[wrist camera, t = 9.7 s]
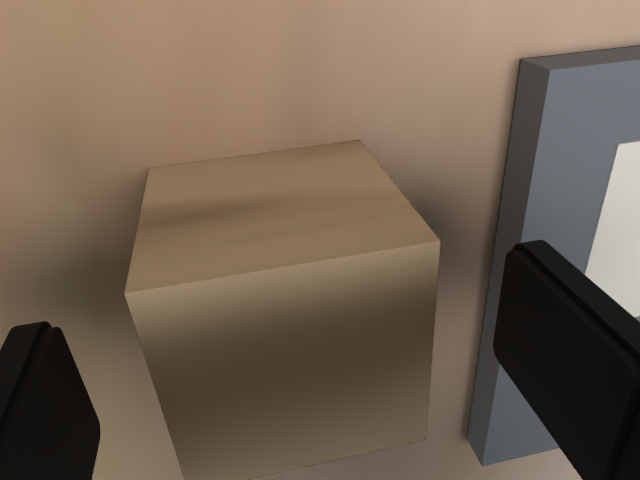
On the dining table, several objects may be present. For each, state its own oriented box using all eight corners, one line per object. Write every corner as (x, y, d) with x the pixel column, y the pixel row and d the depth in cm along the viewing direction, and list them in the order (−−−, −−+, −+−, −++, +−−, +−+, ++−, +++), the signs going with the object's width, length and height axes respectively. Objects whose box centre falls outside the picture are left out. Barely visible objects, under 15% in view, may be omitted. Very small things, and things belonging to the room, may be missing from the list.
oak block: (361, 299, 15) (426, 439, 11) (191, 330, 14) (188, 493, 10) (358, 138, 13) (440, 240, 8) (149, 166, 12) (124, 293, 8)
